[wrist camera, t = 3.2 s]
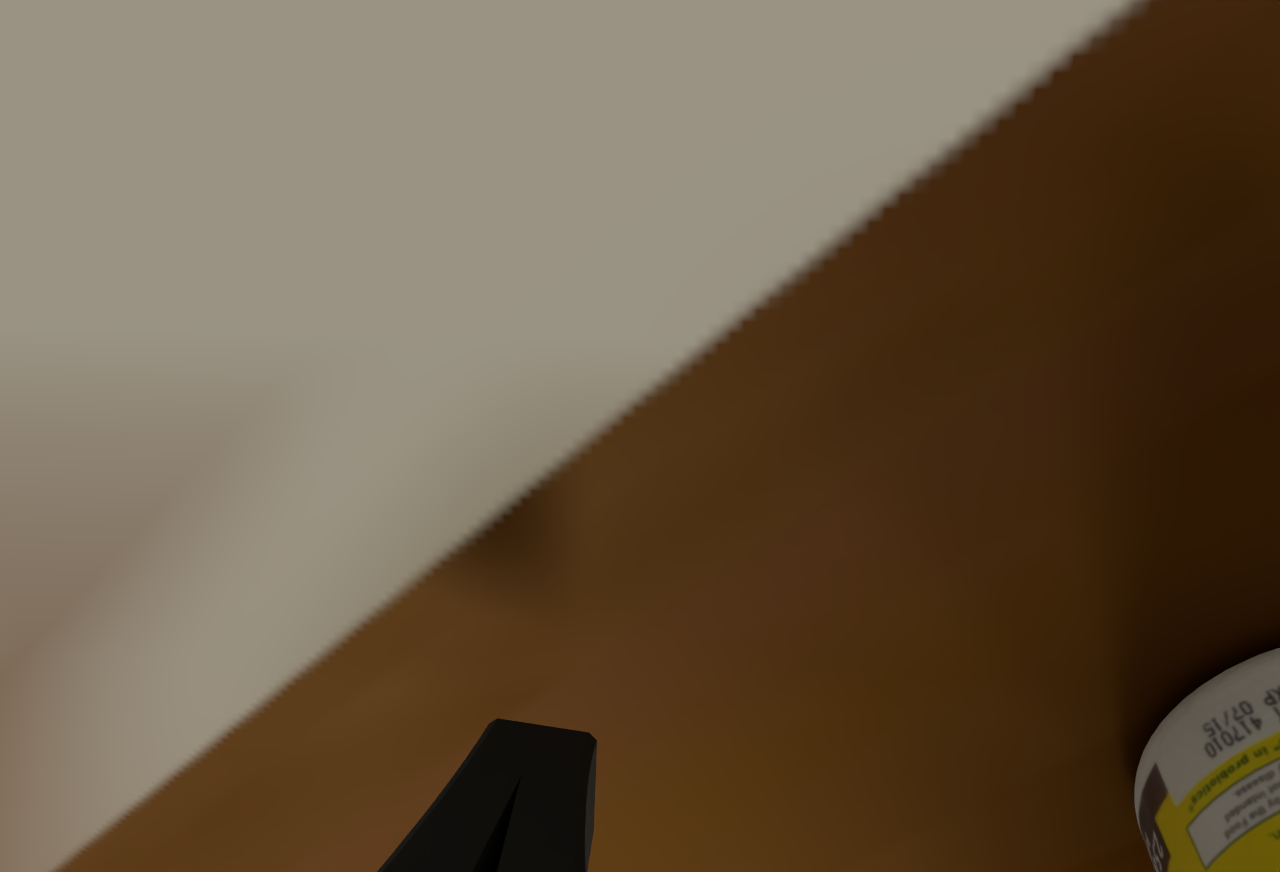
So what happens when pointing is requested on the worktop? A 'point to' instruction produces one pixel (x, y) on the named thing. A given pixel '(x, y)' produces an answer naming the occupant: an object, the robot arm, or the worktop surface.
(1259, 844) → the supplement bottle
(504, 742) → the robot arm
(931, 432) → the worktop surface
